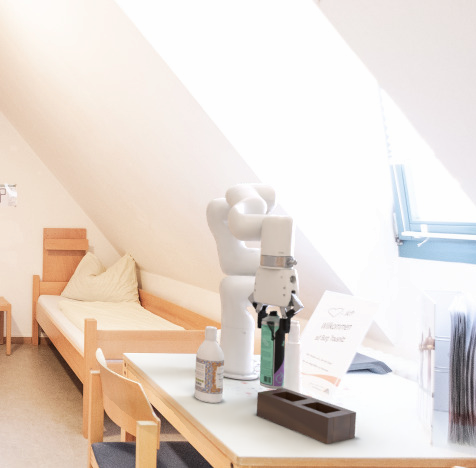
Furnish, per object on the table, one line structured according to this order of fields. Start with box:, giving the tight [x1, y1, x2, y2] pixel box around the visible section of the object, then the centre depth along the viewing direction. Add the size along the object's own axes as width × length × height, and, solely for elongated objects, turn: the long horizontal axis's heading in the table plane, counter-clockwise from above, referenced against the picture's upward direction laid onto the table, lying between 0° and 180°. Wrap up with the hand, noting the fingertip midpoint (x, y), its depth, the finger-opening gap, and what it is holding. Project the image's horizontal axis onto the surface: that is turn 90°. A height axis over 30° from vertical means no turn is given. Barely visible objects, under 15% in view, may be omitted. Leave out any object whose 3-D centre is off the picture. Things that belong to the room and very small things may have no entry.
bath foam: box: [194, 325, 224, 404], centre depth 146 cm, size 7×7×20 cm
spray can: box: [259, 310, 286, 390], centre depth 141 cm, size 6×6×20 cm
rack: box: [256, 388, 357, 445], centre depth 129 cm, size 10×18×6 cm, turn 23°
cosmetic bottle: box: [284, 319, 303, 394], centre depth 147 cm, size 6×6×22 cm
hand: (273, 329), depth 141 cm, fingers closed on spray can, 5 cm apart
